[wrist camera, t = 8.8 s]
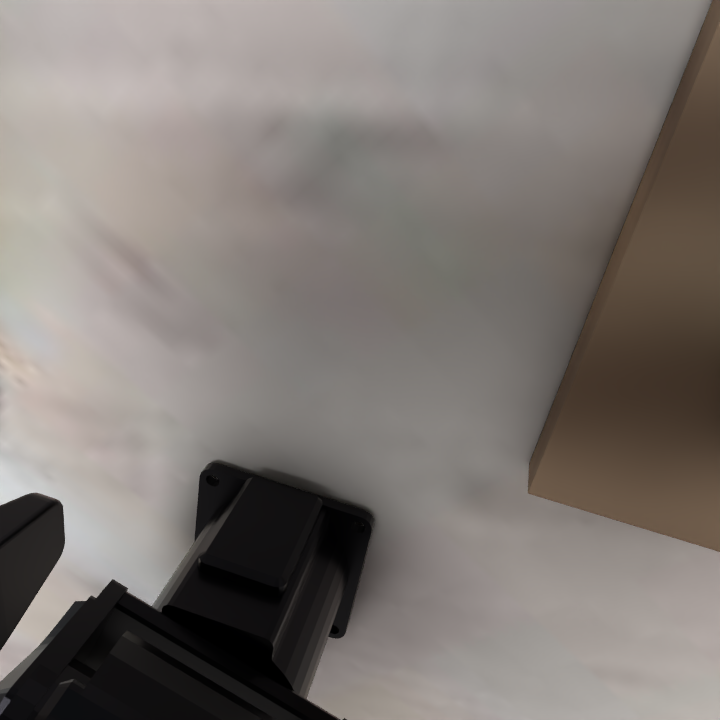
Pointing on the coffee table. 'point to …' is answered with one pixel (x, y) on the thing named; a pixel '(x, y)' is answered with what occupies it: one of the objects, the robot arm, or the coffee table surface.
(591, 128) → the coffee table surface
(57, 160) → the coffee table surface
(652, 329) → the cleat board
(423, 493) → the coffee table surface
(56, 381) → the coffee table surface
